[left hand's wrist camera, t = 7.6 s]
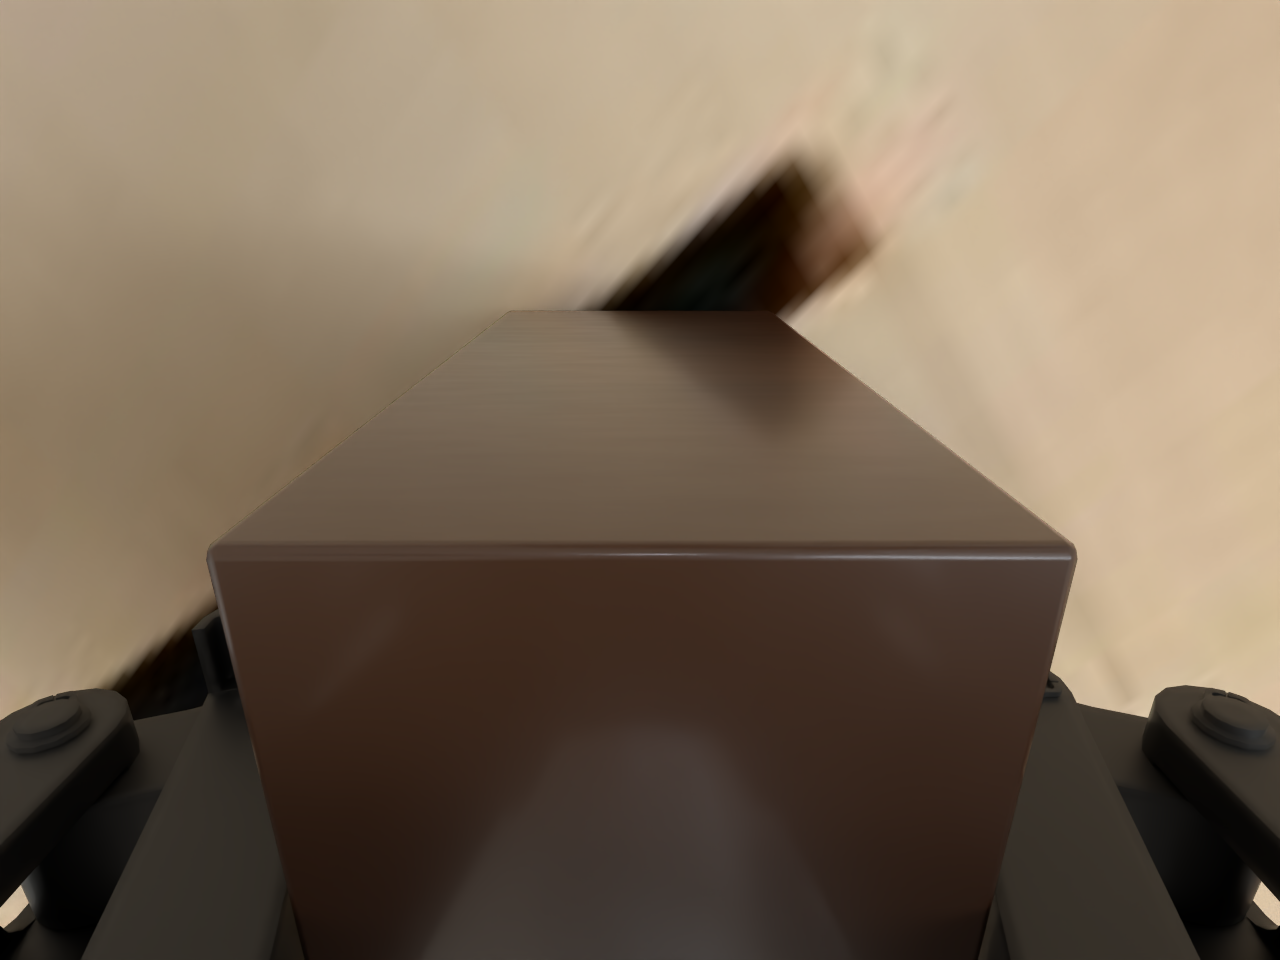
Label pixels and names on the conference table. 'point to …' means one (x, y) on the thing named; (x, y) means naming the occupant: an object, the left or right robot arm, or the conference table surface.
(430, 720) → the beam
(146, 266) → the conference table surface
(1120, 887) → the left robot arm
